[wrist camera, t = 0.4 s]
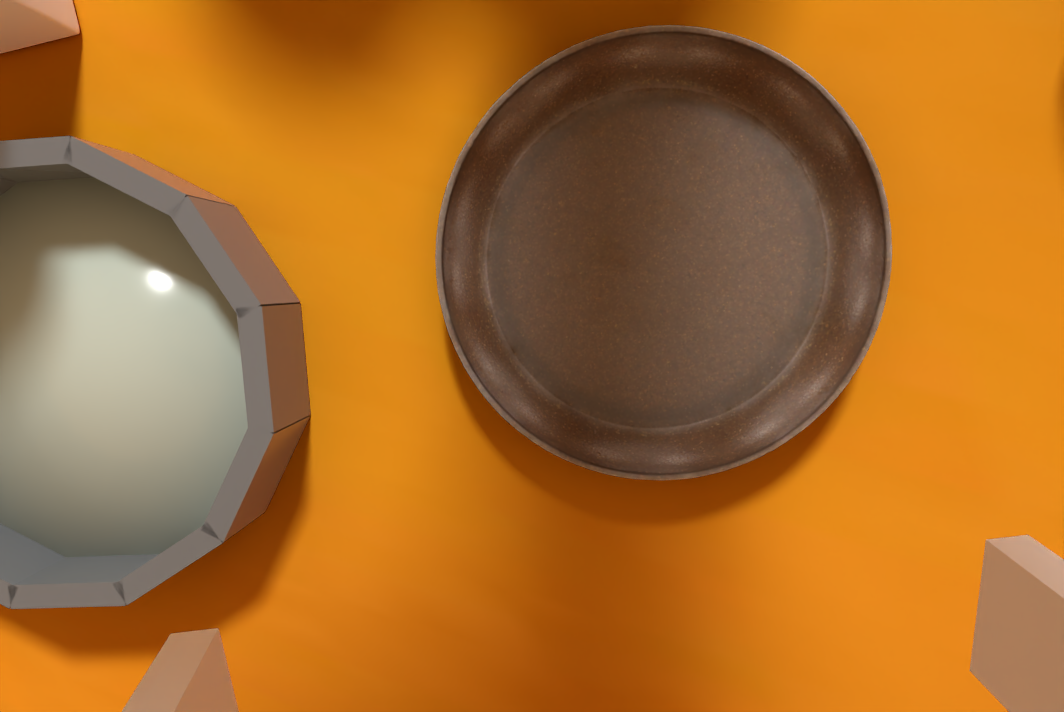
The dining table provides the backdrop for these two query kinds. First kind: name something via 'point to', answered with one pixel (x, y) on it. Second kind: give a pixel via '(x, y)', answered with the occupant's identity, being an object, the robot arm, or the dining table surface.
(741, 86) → the plant saucer
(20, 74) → the dining table surface
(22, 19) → the milk carton
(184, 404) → the bowl
